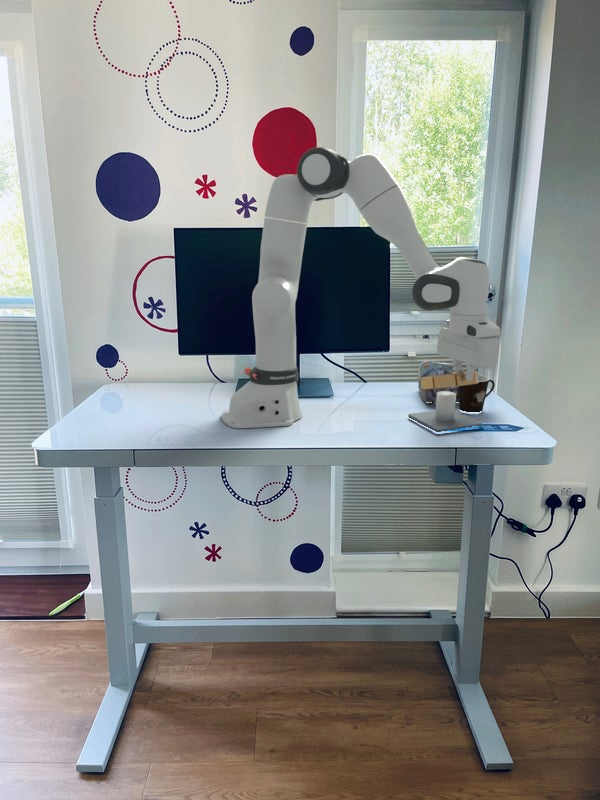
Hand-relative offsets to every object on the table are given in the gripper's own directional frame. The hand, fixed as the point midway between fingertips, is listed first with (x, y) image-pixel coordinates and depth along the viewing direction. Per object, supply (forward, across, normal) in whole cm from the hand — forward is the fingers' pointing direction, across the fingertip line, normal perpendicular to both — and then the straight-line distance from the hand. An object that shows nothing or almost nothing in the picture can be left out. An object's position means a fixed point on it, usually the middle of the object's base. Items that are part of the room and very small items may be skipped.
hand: (463, 378), depth 148 cm
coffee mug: (+14, -12, +15) cm, 24 cm away
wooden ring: (+3, -5, 0) cm, 6 cm away
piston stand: (+14, -6, 0) cm, 15 cm away
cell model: (+14, -28, +12) cm, 34 cm away
